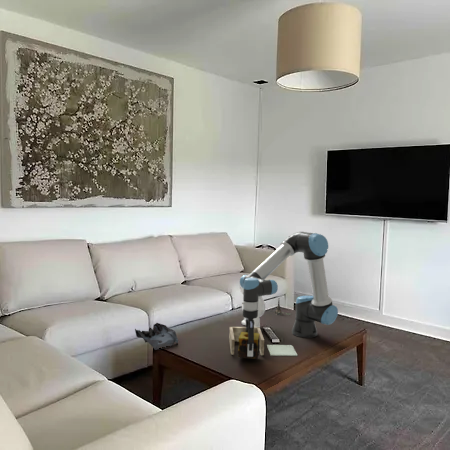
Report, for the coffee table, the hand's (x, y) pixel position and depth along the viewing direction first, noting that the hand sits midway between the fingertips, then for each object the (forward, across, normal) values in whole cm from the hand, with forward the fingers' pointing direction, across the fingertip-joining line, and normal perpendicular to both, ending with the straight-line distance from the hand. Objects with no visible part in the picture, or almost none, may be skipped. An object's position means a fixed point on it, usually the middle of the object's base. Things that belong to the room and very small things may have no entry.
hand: (249, 351), depth 214 cm
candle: (+2, 0, 0) cm, 2 cm away
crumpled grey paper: (+4, -20, -49) cm, 53 cm away
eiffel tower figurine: (+5, -82, +29) cm, 87 cm away
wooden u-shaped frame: (+4, -16, 0) cm, 17 cm away
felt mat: (+4, -12, +19) cm, 23 cm away
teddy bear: (+4, -53, +8) cm, 54 cm away
